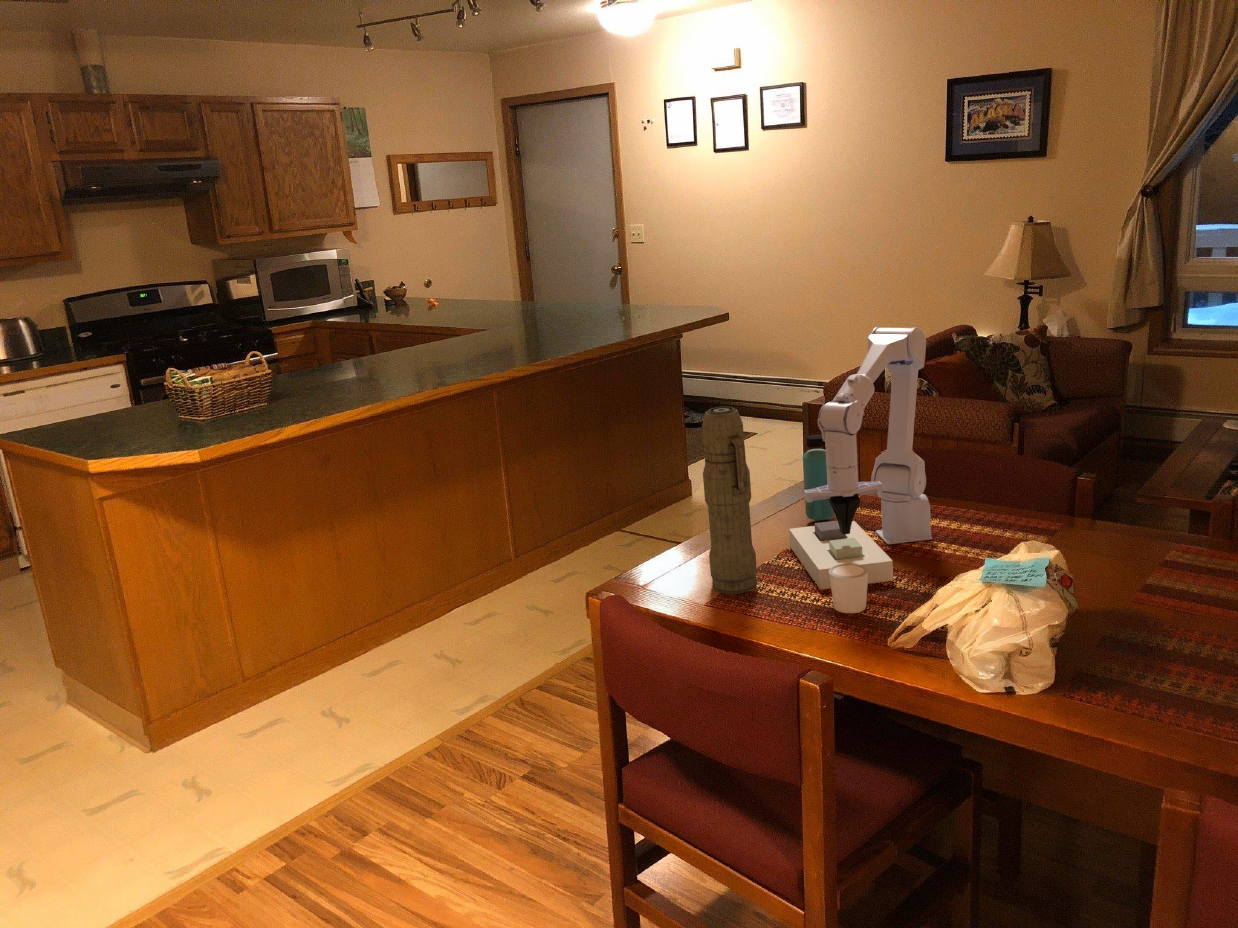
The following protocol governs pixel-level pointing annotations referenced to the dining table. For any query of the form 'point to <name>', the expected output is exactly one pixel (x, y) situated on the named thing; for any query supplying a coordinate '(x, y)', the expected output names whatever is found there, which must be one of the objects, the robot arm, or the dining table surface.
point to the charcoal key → (828, 531)
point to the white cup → (849, 587)
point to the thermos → (728, 502)
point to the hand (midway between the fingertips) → (845, 532)
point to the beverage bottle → (816, 478)
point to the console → (820, 560)
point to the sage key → (845, 549)
